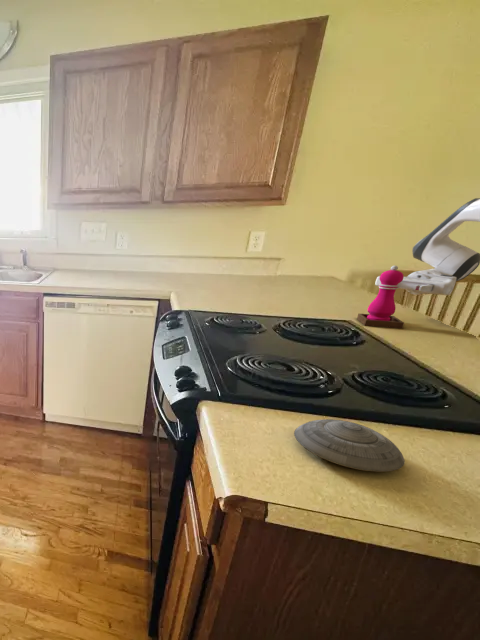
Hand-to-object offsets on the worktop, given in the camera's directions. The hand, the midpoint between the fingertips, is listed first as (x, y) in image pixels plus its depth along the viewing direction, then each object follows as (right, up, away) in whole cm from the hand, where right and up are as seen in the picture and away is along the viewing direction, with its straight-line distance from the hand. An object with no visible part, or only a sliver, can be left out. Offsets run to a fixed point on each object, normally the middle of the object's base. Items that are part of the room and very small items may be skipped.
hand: (401, 286), depth 141 cm
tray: (-6, -13, +2) cm, 15 cm away
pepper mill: (-7, -13, +2) cm, 15 cm away
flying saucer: (-82, -43, -70) cm, 117 cm away
